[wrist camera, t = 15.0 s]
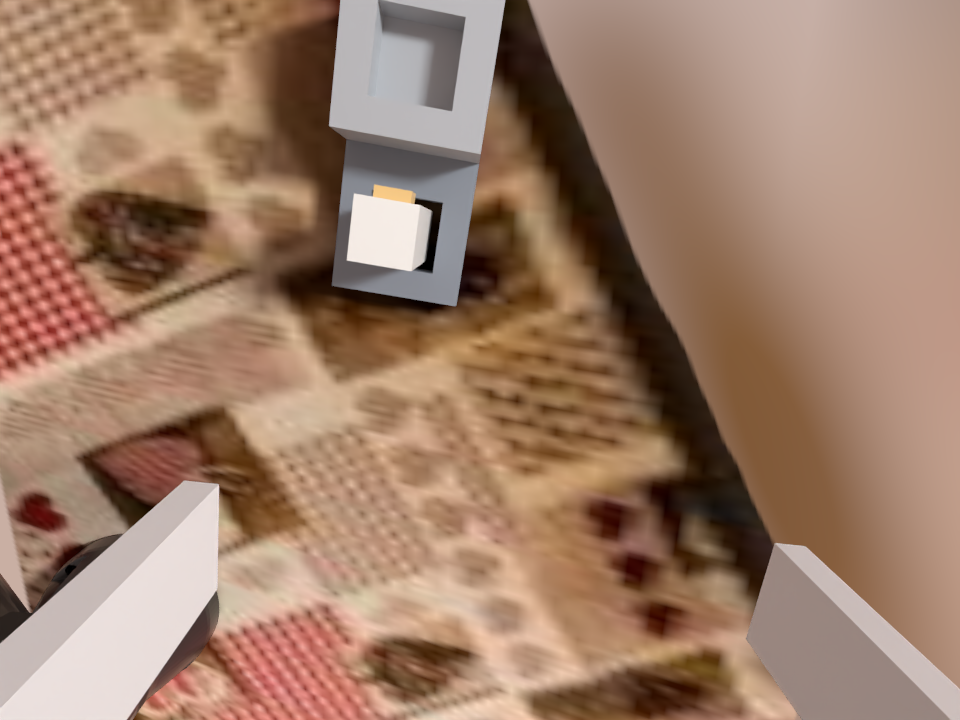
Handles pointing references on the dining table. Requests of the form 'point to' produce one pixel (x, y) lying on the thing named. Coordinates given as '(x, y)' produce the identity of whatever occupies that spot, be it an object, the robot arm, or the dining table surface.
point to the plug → (389, 229)
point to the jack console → (413, 124)
